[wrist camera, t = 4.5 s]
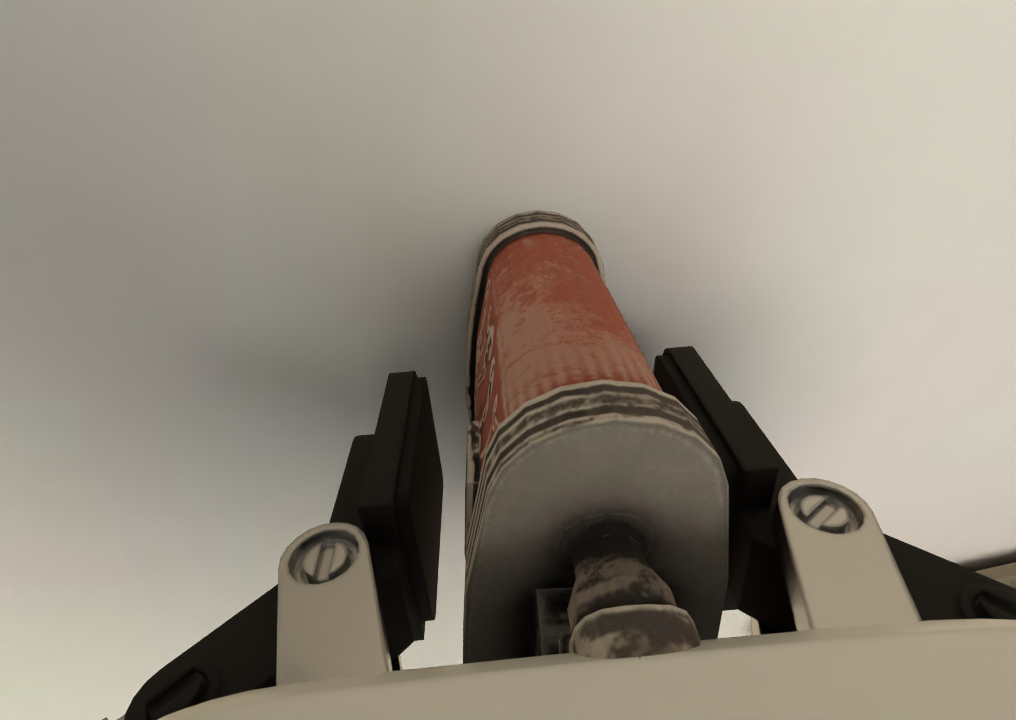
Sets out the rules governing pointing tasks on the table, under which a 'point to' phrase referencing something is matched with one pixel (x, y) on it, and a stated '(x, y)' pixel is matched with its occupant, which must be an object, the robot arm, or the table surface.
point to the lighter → (579, 468)
